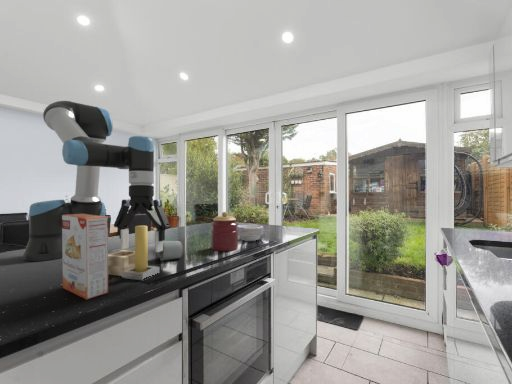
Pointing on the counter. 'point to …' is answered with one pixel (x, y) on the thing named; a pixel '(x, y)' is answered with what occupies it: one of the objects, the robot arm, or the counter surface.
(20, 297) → the counter surface
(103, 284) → the cracker box
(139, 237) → the ochre pin
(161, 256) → the ceramic mug
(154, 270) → the grey mount plate
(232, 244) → the canister
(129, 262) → the beech socket block
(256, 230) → the paper bowls
